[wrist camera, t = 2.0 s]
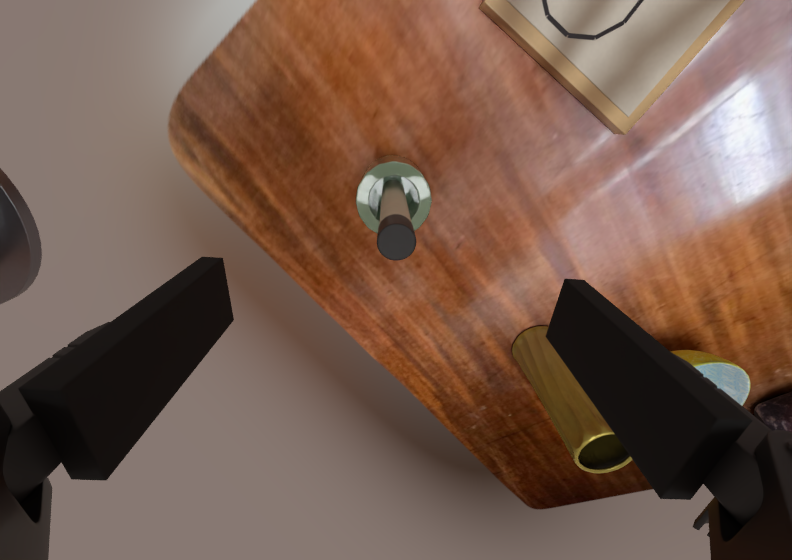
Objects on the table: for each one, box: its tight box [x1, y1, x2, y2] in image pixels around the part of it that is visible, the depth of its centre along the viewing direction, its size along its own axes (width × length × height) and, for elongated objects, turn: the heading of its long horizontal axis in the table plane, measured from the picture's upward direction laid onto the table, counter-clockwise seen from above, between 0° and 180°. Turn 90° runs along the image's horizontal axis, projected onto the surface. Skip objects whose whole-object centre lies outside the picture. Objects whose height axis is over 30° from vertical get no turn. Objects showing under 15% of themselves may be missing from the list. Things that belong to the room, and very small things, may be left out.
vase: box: [512, 326, 632, 473], centre depth 33 cm, size 6×6×14 cm
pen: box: [377, 180, 416, 260], centre depth 24 cm, size 2×2×15 cm
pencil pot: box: [356, 155, 432, 234], centre depth 28 cm, size 6×6×6 cm
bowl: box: [670, 350, 750, 406], centre depth 39 cm, size 11×12×6 cm
